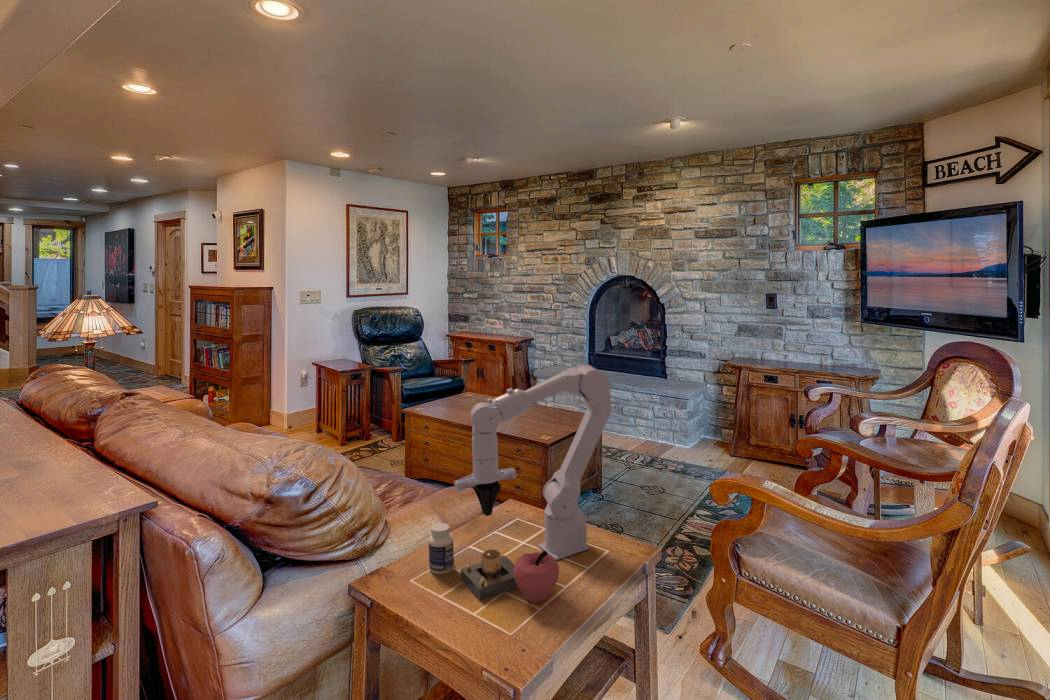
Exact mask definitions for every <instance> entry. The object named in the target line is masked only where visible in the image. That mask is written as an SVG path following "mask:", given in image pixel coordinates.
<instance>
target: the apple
mask: <svg viewBox="0 0 1050 700" xmlns="http://www.w3.org/2000/svg"><path fill="white" fill-rule="evenodd" d="M514 564H515V565H514V567H513V575H514V578H515V581H516V583H517V585H518V589H519V590H520V591H521V593H522V594H523V595H524V597H525V599H526V600H528V601H529V602H531V603H533V604H535V603H543V602H544V601H545V599H547V598H548V597H549V596H550V593H551V592H552V590H553V589H554V588H555V585H556V584H557V583H558V581H559V580H558V579H559V574H560V567H559V564H558V563H557V560H555V559H554V558H553V556H550V555H549V554H548V553H547V552H546V551H545V550H544V551H542V552H539V551H537V552H532V553H527V552H525V553H523V554H522V555H521V556H520V557H517V558H516V559H515V562H514Z"/></svg>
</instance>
